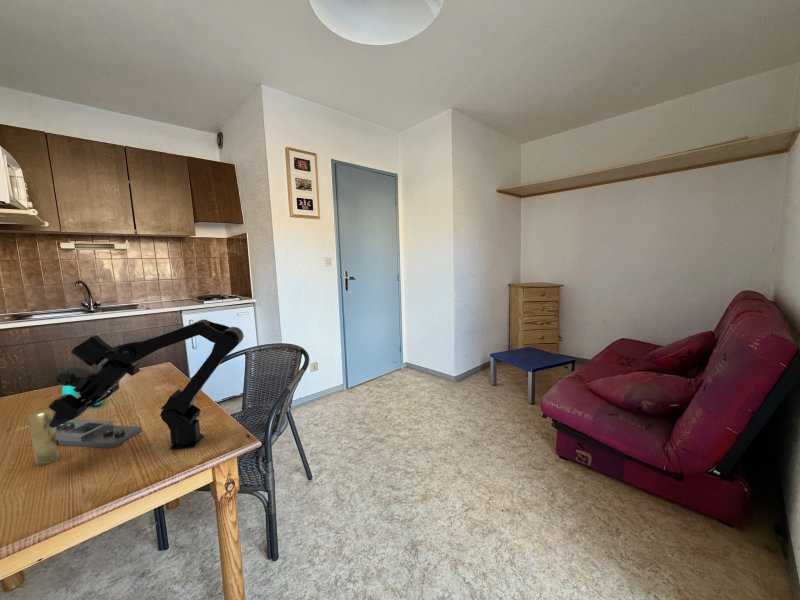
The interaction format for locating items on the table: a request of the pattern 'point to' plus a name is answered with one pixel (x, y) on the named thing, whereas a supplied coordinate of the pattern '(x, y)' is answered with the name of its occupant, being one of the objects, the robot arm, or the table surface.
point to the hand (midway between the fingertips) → (64, 418)
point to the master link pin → (43, 437)
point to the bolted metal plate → (93, 433)
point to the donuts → (72, 392)
